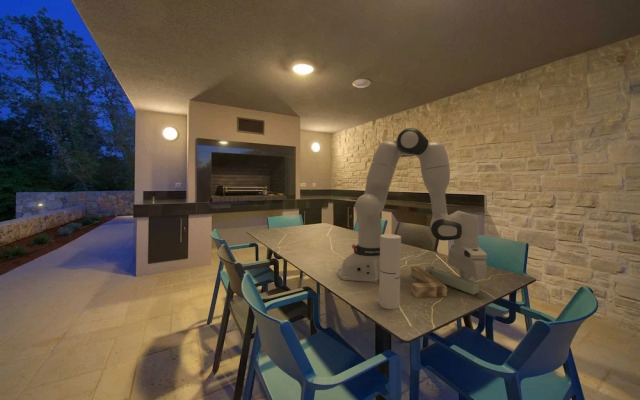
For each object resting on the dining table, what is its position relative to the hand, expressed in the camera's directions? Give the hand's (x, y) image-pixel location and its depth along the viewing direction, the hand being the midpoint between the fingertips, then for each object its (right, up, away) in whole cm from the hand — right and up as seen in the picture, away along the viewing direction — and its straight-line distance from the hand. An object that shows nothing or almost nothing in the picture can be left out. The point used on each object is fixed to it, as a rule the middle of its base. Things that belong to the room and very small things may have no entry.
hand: (464, 281), depth 107 cm
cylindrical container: (-36, -4, -15) cm, 39 cm away
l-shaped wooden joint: (-18, -2, +3) cm, 18 cm away
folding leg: (-5, -2, +3) cm, 6 cm away
